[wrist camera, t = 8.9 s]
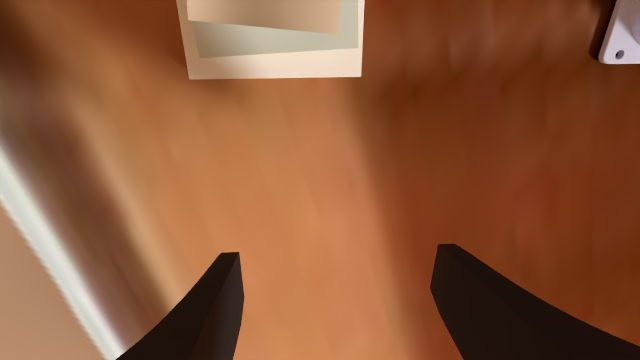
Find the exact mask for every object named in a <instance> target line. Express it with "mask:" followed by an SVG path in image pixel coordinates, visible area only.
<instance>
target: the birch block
mask: <svg viewBox="0 0 640 360" xmlns="http://www.w3.org/2000/svg"><path fill="white" fill-rule="evenodd" d="M340 9H341V0H187V11H188V20H192V21H203V22H213V23H223V24H234V25H244V26H255V27H265V28H275V29H286V30H296V31H306V32H317V33H327V34H338V29H339V19H340Z"/></svg>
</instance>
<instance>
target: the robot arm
mask: <svg viewBox="0 0 640 360" xmlns="http://www.w3.org/2000/svg"><path fill="white" fill-rule="evenodd" d="M617 52H618V55H617V57H616V58H615V56H616V53H617ZM598 58H599V61H600V62H601V63H606V64H640V0H617V2H616V5H615V8H614V11H613V14H612V17H611V20H610V23H609V26H608V29H607V32H606V35H605V38H604V41H603V44H602V47H601V50H600V53H599V57H598ZM430 289H431V292H432V295H433V298H434V300H435V303H436V306H437V308H438V311H439V313H440V315H441V317H442V319H443V321H444V323H445V325H446V327H447V329H448V331H449V333H450V335H451V337H452V339H453V340H454V342H455V344H456V346H457V348H458V350H459V352H460V354H461V356H462V357H463V359H464V360H640V346H637V345H635V344H632V343H630V342H627V341H625V340H623V339H620V338H618V337H616V336H613V335H611V334H609V333H607V332H605V331H602V330H600V329H598V328H596V327H594V326H591V325H589V324H587V323H585V322H583V321H581V320H579V319H577V318H575V317H573V316H571V315H569V314H567V313H565V312H563V311H562V310H560V309H558V308H556V307H554V306H552V305H550V304H548V303H547V302H545V301H543V300H541V299H540V298H538V297H536V296H535V295H533V294H531V293H530V292H528V291H526V290H525V289H523V288H521V287H520V286H518V285H516V284H515V283H513V282H512V281H510V280H509V279H507V278H506V277H504V276H502V275H501V274H499V273H498V272H496V271H495V270H493V269H492V268H491V267H489V266H488V265H486V264H485V263H483V262H482V261H480V260H479V259H477V258H476V257H474V256H473V255H471V254H470V253H468V252H467V251H465V250H464V249H462V248H461V247H459V246H457V245H456V244H438V249H437V254H436V259H435V264H434V270H433V275H432V280H431V286H430ZM243 303H244V291H243V282H242V273H241V265H240V256H239V252H230V253H221V254H220V255H219V256H218V257H217V258H216V260H215V261H214V262H213V263H212V265H211V266H210V267H209V268H208V270H207V271H206V272H205V273H204V275H203V276H202V277H201V278H200V279H199V281H198V282H197V283H196V284H195V285H194V286H193V288H192V289H191V290H190V291H189V292H188V293H187V294H186V296H185V297H184V298H183V299H182V300H181V301H180V302H179V303H178V304H177V305H176V306H175V307H174V308H173V309H172V310H171V311H170V312H169V313H168V314H167V315H166V316H165V317H164V318H163V319H162V320H161V321H160V322H159V323H158V324H157V325H156V326H155V327H154V328H153V329H152V330H151V331H150V332H149V333H147V334H146V335H145V336H144V337H143V338H142V339H141V340H140V341H138V342H137V343H136V344H135V345H134V346H132V347H131V348H130V349H128V350H127V351H126V352H125V353H123V354H122V355H121V356H120V357H118V358H117V359H116V360H233V356H234V352H235V348H236V344H237V339H238V335H239V331H240V326H241V320H242V312H243Z"/></svg>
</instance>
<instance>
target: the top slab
mask: <svg viewBox="0 0 640 360" xmlns="http://www.w3.org/2000/svg"><path fill="white" fill-rule="evenodd" d="M192 23H193V28H194V33H195V38H196V43H197V48H198V53H199V58H212V57H227V56H243V55H258V54H274V53H289V52H305V51H320V50H336V49H351V48H358V0H341V9H340V19H339V29H338V34H327V33H317V32H306V31H296V30H286V29H275V28H265V27H255V26H244V25H234V24H223V23H213V22H203V21H192Z"/></svg>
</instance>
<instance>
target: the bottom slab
mask: <svg viewBox="0 0 640 360" xmlns="http://www.w3.org/2000/svg"><path fill="white" fill-rule="evenodd" d="M176 3H177V9H178V15H179V21H180V27H181V33H182V39H183V45H184V51H185V57H186V63H187V69H188V75H189V79H250V78H311V77H361V65H362V42H363V20H364V0H358V48H351V49H336V50H320V51H305V52H289V53H274V54H258V55H243V56H227V57H212V58H199V53H198V48H197V43H196V38H195V33H194V28H193V23H192V20H188V11H187V0H176Z"/></svg>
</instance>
